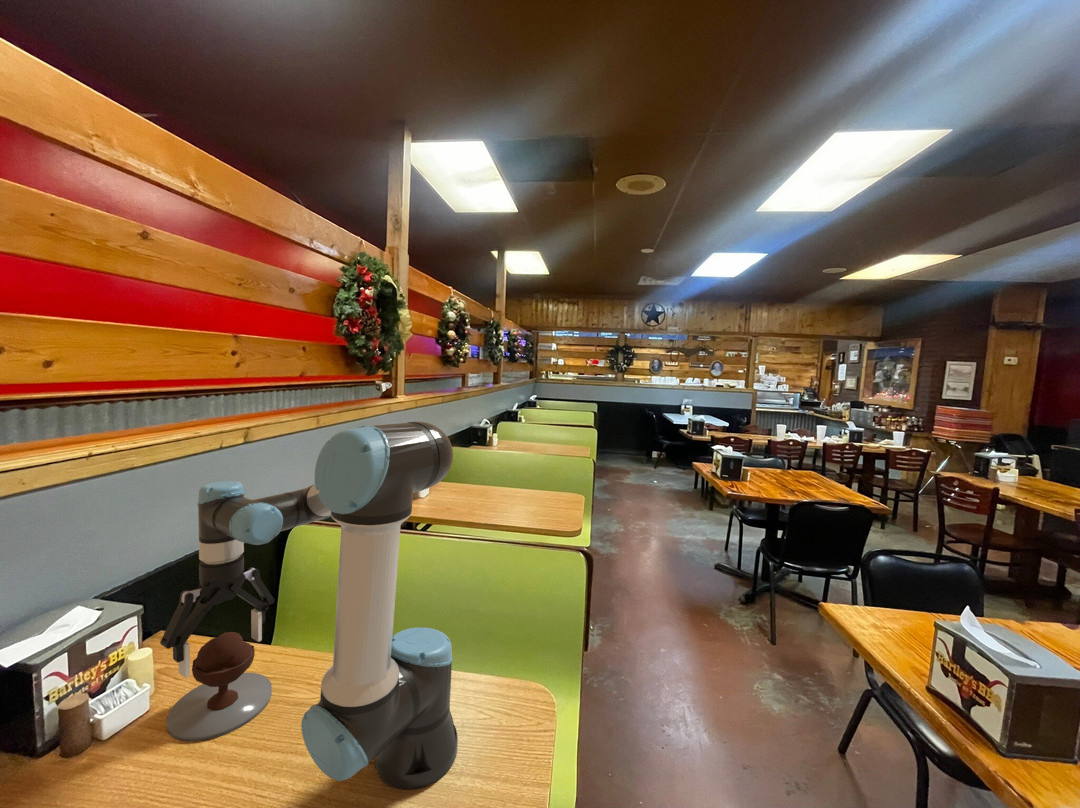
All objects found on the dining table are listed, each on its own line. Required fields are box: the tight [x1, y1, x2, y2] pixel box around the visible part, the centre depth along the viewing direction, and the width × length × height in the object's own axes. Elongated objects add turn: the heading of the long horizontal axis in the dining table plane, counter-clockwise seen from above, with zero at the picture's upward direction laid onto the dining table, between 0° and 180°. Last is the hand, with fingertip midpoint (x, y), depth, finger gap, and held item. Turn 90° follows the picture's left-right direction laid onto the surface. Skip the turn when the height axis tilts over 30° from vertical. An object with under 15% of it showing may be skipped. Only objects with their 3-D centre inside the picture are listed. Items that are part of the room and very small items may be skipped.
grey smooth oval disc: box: [165, 672, 273, 742], centre depth 93 cm, size 18×18×1 cm
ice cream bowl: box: [191, 631, 255, 710], centre depth 93 cm, size 11×11×15 cm
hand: (222, 655), depth 92 cm, fingers open, 13 cm apart
